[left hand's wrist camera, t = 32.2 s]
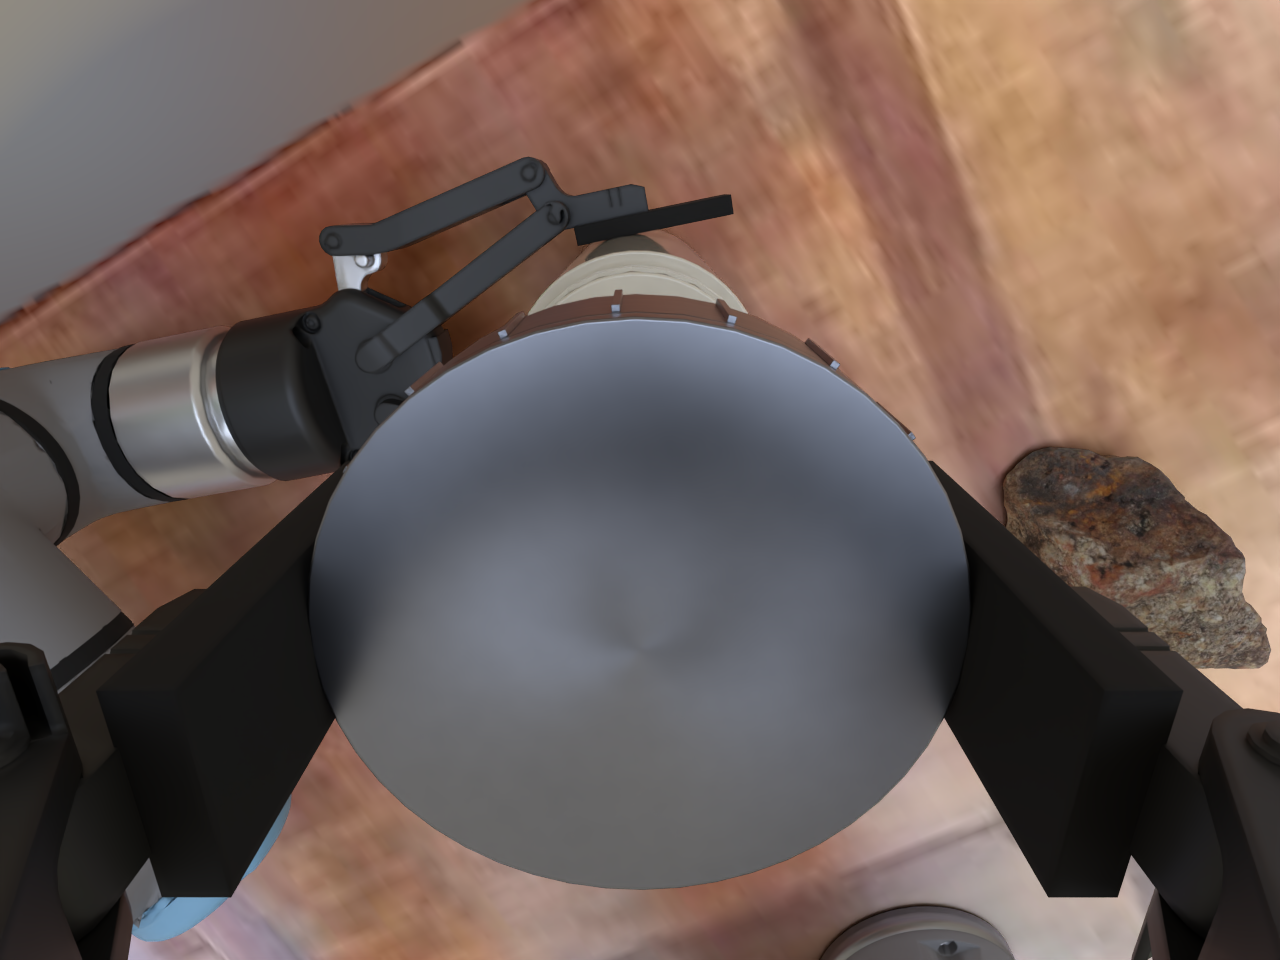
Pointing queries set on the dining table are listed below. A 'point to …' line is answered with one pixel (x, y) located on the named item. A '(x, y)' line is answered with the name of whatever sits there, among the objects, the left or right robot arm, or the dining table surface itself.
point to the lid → (639, 595)
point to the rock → (1138, 550)
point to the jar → (638, 272)
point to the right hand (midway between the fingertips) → (742, 309)
